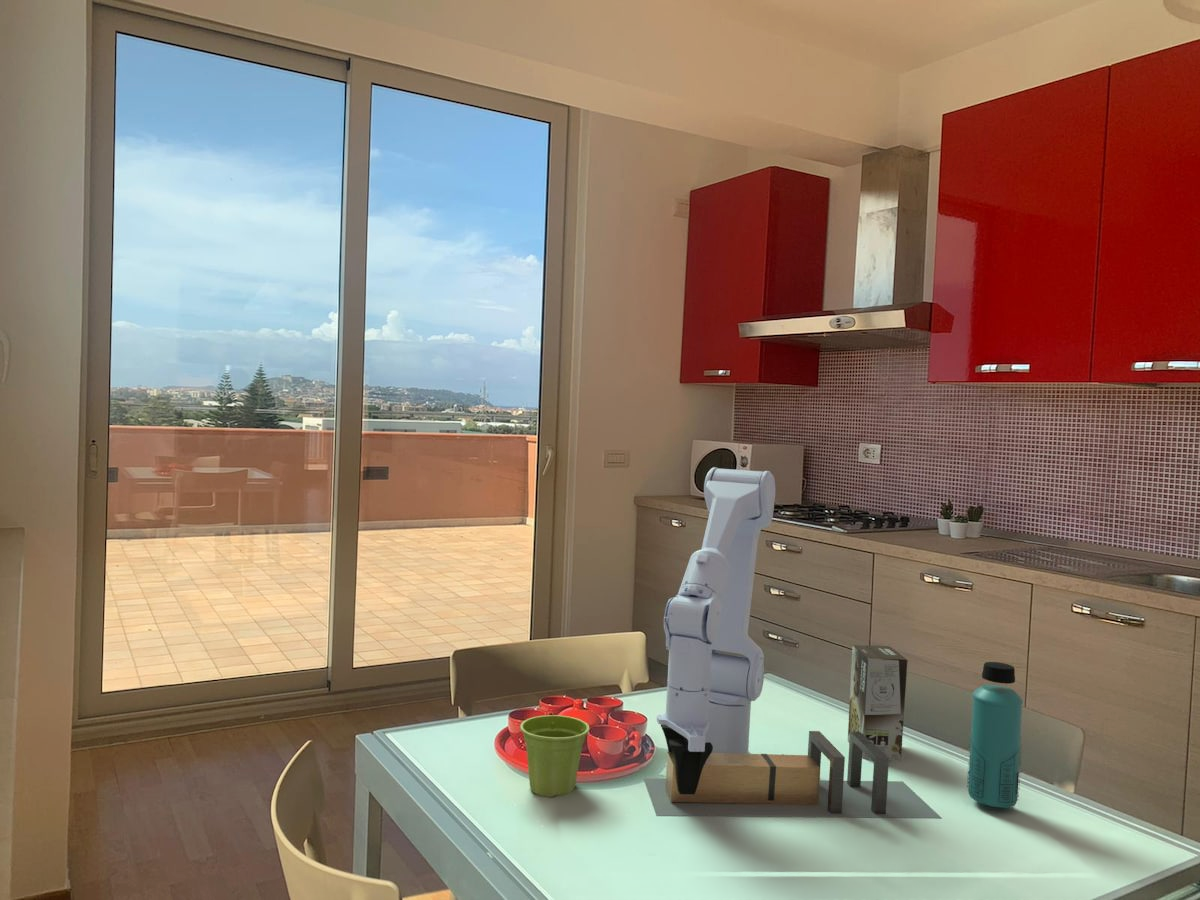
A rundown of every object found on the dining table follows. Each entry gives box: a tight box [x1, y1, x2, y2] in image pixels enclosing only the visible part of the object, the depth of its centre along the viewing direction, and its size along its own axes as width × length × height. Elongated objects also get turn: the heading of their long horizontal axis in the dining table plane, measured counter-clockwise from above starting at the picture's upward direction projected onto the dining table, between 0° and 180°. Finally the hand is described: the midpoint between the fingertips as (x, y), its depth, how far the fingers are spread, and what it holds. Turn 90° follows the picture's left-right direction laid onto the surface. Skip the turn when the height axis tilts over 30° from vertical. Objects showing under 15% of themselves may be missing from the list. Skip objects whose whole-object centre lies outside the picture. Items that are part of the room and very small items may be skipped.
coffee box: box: [847, 644, 909, 761], centre depth 142 cm, size 9×6×16 cm
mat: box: [643, 777, 943, 819], centre depth 121 cm, size 38×12×1 cm, turn 95°
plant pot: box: [519, 714, 590, 798], centre depth 121 cm, size 9×9×9 cm
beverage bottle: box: [966, 661, 1024, 808], centre depth 122 cm, size 6×7×20 cm
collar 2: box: [846, 732, 890, 814], centre depth 122 cm, size 2×10×8 cm, turn 5°
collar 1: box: [807, 730, 846, 814], centre depth 122 cm, size 2×10×8 cm, turn 5°
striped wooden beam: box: [665, 751, 821, 805], centre depth 121 cm, size 20×5×5 cm, turn 95°
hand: (683, 785), depth 120 cm, fingers closed on striped wooden beam, 4 cm apart
